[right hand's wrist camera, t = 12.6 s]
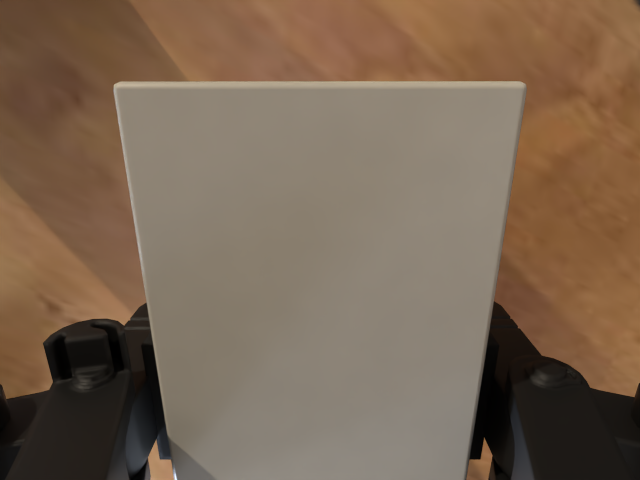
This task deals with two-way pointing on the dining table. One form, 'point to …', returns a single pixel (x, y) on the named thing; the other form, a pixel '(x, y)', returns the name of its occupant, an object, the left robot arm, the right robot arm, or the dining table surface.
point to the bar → (320, 269)
